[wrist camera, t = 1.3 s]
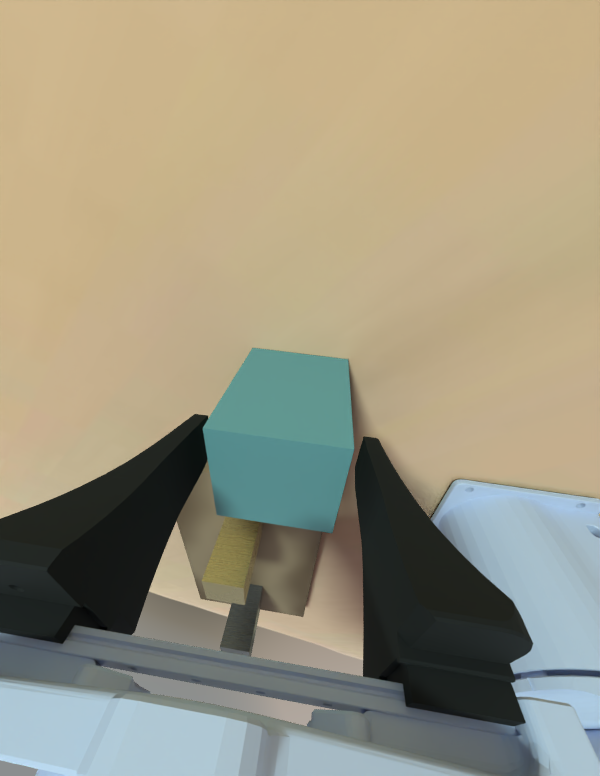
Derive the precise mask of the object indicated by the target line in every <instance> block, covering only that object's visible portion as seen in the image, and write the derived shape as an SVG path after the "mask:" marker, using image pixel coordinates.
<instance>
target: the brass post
mask: <svg viewBox="0 0 600 776" xmlns="http://www.w3.org/2000/svg"><path fill="white" fill-rule="evenodd" d="M262 531H263V522H257V521H251V520H245V519H238V518H232V517H226V516H225V519H224V522H223V525H222V527H221V530H220V533H219V535H218V538H217V541H216V544H215V546H214V549H213V552H212V554H211V557H210V560H209V563H208V565H207V568H206V571H205V573H204V576H203V579H202V584H203V588H204V591H205V595H206V598H207V599H213V600H218V601H224V602H230V603H236V604H241V605H245V603H246V599H247V594H248V590H249V586H250V582H251V578H252V573H253V569H254V565H255V561H256V556H257V552H258V548H259V544H260V539H261V535H262Z"/></svg>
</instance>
